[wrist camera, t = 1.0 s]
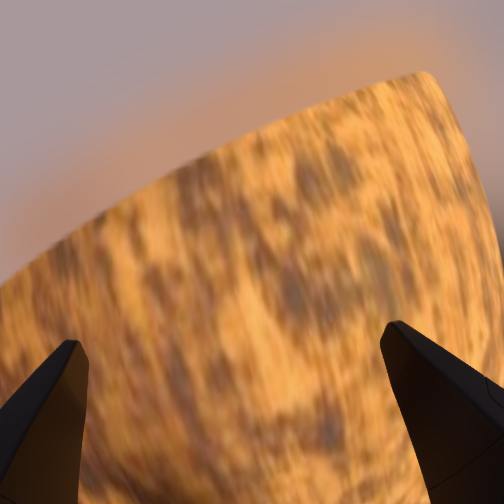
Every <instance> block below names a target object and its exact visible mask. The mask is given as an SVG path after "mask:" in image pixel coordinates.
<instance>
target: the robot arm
mask: <svg viewBox="0 0 504 504" xmlns="http://www.w3.org/2000/svg"><path fill="white" fill-rule="evenodd" d="M380 349H381V352H382V355H383V359H384V362H385V366H386V369H387V373H388V377H389V380H390V384H391V387H392V390H393V393H394V395H395V398H396V400H397V403H398V406H399V408H400V411H401V414H402V416H403V419H404V422H405V425H406V427H407V430H408V433H409V436H410V439H411V442H412V445H413V447H414V450H415V453H416V456H417V459H418V462H419V466H420V469H421V472H422V475H423V478H424V481H425V485H426V488H427V491H428V495H429V499H430V502H431V504H504V389H503V388H502V387H500V386H499V385H497V384H496V383H494V382H493V381H491V380H490V379H488V378H487V377H484V375H483V374H481V373H480V372H478V371H477V370H475V369H474V368H472V367H471V366H469V365H468V364H466V363H465V362H463V361H462V360H460V359H459V358H457V357H456V356H454V355H453V354H451V353H450V352H448V351H447V350H445V349H444V348H442V347H441V346H439V345H438V344H436V343H435V342H433V341H432V340H430V339H429V338H427V337H426V336H424V335H423V334H421V333H420V332H418V331H417V330H415V329H413V328H412V327H410V326H409V325H407V324H406V323H404V322H403V321H401V320H397V321H391V322H389V323H388V324H387V325H386V328H385V330H384V333H383V335H382V337H381V340H380ZM88 372H89V361H88V358H87V356H86V354H85V351H84V349H83V347H82V345H81V343H80V342H79V341H78V340H69V339H67V340H65V341H64V342H63V343H62V344H61V345H60V346H59V347H58V348H57V349H56V350H55V351H54V352H53V353H52V354H51V355H50V356H49V357H48V358H47V359H46V360H45V361H44V362H43V363H42V364H41V365H40V366H39V367H38V368H37V369H36V370H35V371H34V372H33V373H32V375H31V376H30V377H29V378H28V379H27V380H26V381H25V382H24V383H23V384H22V385H21V386H20V387H19V389H18V390H17V391H16V392H15V393H14V394H13V395H12V396H11V397H10V398H9V400H8V401H7V402H6V403H5V404H4V405H3V406H2V407H1V409H0V504H78V484H79V470H80V458H81V448H82V440H83V432H84V424H85V417H86V405H87V386H88Z"/></svg>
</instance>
